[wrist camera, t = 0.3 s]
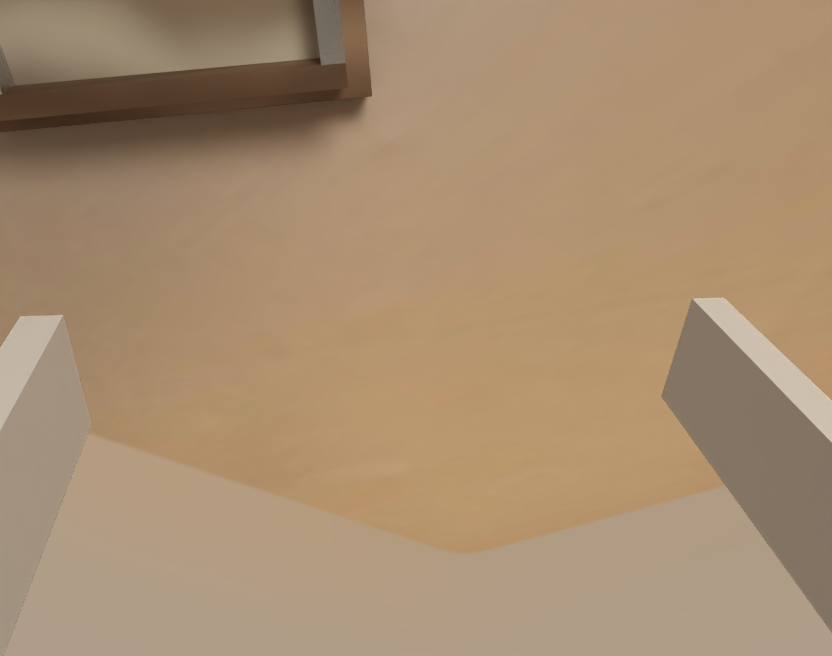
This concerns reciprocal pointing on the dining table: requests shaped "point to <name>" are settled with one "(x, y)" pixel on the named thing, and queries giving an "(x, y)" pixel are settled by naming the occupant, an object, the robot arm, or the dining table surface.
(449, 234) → the dining table surface
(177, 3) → the tray
